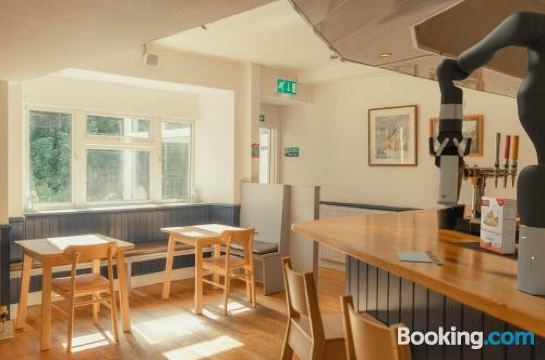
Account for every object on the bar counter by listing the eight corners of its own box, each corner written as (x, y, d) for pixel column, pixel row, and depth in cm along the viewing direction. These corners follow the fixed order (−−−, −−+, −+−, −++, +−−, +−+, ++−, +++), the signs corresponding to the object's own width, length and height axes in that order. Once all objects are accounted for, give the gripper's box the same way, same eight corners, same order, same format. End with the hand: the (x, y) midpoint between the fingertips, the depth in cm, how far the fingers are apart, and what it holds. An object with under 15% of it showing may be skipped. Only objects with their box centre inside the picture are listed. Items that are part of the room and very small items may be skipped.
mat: (431, 262, 153) (431, 261, 152) (400, 261, 154) (400, 259, 154) (424, 253, 168) (424, 252, 168) (396, 252, 170) (396, 251, 170)
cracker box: (478, 247, 185) (481, 195, 184) (492, 247, 186) (494, 196, 185) (500, 254, 171) (503, 198, 170) (515, 254, 172) (517, 198, 171)
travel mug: (445, 205, 153) (447, 145, 152) (433, 203, 159) (436, 146, 158) (461, 205, 154) (464, 146, 154) (449, 203, 161) (451, 146, 160)
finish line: (442, 265, 149) (442, 263, 149) (437, 265, 149) (437, 263, 149) (430, 252, 171) (430, 251, 171) (426, 252, 171) (426, 250, 171)
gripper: (430, 117, 153) (428, 167, 154) (476, 117, 151) (473, 168, 151) (427, 119, 161) (425, 166, 161) (470, 119, 158) (468, 168, 159)
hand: (448, 167), depth 156 cm, fingers closed on travel mug, 6 cm apart
